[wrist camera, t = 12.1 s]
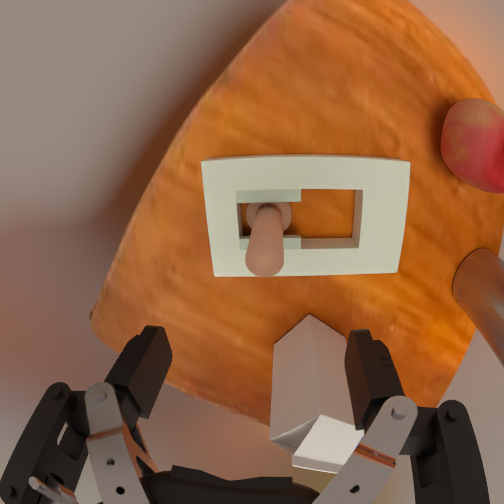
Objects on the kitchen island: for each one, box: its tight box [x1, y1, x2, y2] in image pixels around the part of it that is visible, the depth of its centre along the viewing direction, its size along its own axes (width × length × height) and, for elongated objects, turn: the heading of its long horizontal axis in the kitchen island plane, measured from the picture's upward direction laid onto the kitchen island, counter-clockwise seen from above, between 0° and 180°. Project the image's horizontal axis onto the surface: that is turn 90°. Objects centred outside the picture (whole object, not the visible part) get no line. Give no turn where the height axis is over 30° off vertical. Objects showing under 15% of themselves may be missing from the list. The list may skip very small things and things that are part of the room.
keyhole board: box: [201, 154, 410, 277], centre depth 26 cm, size 20×12×3 cm, turn 93°
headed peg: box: [245, 202, 292, 277], centre depth 23 cm, size 5×5×11 cm
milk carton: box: [270, 314, 364, 473], centre depth 27 cm, size 7×7×19 cm
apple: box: [441, 98, 504, 194], centre depth 18 cm, size 10×10×10 cm
